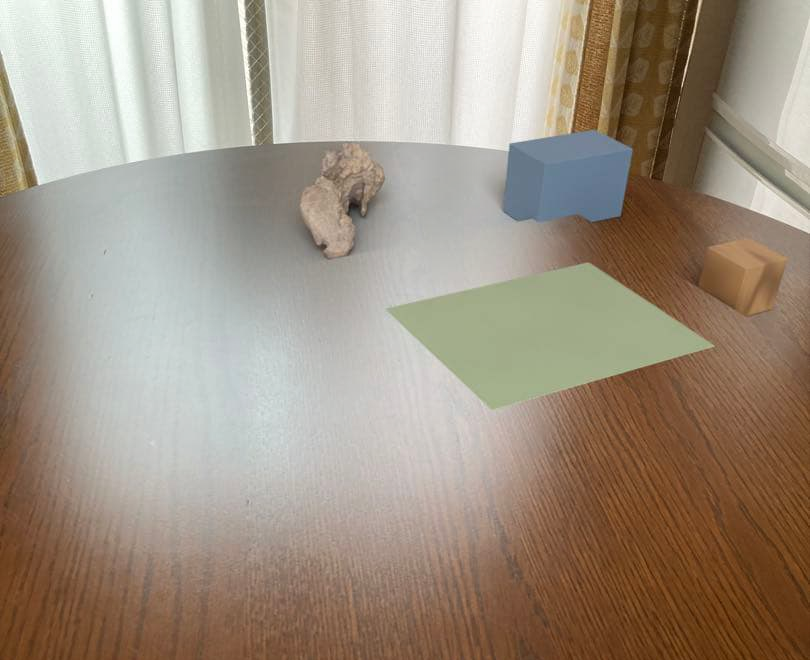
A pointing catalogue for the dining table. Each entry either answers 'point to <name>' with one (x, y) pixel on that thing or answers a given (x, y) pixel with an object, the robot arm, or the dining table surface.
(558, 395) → the dining table surface
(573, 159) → the sponge
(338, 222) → the rock
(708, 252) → the cork block
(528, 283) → the tray
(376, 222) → the dining table surface
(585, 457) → the dining table surface
